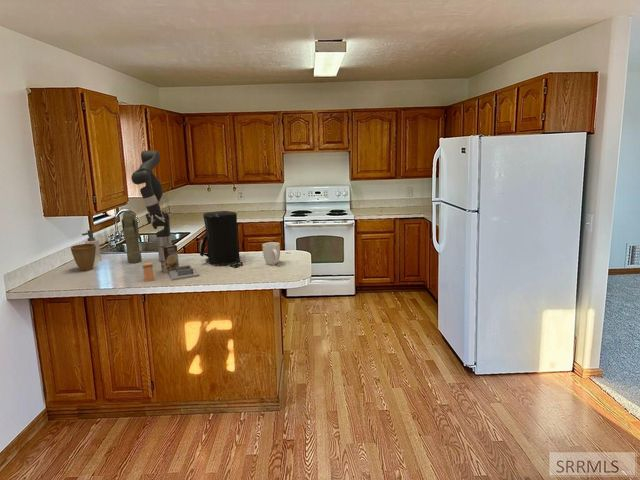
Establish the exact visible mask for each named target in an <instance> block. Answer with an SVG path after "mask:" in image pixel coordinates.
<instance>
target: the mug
mask: <svg viewBox="0 0 640 480" xmlns="http://www.w3.org/2000/svg"><path fill="white" fill-rule="evenodd" d="M262 254H263V258H264V261H265V263H266V264H267V265H269V266H274V265H277V264H278V263H279V261H280V256H281V246H280V242H274V241H269V242H265V243H263V244H262Z"/></svg>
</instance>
